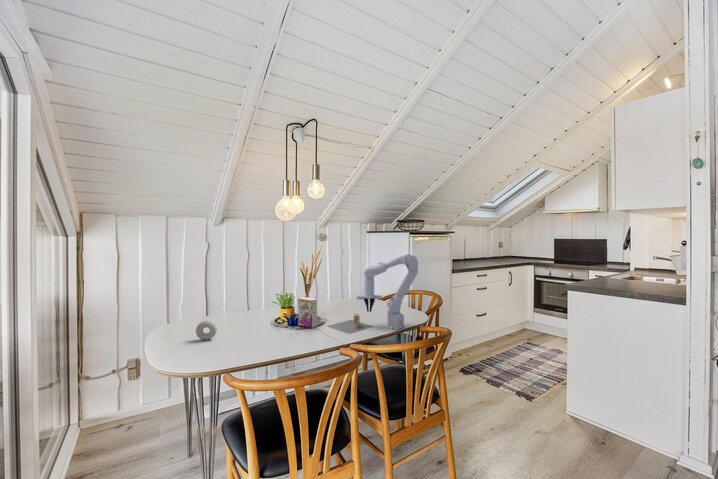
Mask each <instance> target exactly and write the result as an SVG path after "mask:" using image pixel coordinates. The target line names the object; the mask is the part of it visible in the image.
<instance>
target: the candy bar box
mask: <svg viewBox="0 0 718 479" xmlns="http://www.w3.org/2000/svg"><path fill="white" fill-rule="evenodd" d="M298 323H299V324H303V325H305V326H306V327H305V328H308V329H314V328H316V327H318V299H316V298H311V297H305V296H301V297H298V298H297V324H298Z"/></svg>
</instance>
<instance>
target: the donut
mask: <svg viewBox="0 0 718 479" xmlns="http://www.w3.org/2000/svg"><path fill="white" fill-rule="evenodd" d="M206 328H208V329H209V332H207V333H206V332H204V329H206ZM217 330H218V329H217V325H216V323H214V322H213V321H211V320H202V322H200V323H198V325H197V326H196V328H195V334H196V336H197V338H199V340H203V341H208V340H212V339H213V338H214V337H215V336H216V334H217V332H218V331H217Z"/></svg>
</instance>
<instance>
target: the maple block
mask: <svg viewBox="0 0 718 479" xmlns="http://www.w3.org/2000/svg"><path fill="white" fill-rule="evenodd" d="M352 320H353V325H354V328H359V325H360V314H359V313H353V318H352Z"/></svg>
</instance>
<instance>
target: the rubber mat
mask: <svg viewBox="0 0 718 479" xmlns="http://www.w3.org/2000/svg"><path fill="white" fill-rule="evenodd" d="M326 327H328V328H330V329H333V330H336V331H339V332H342V333H345V334H349V335H351V334H355V333H358V332H361V331H365V330H369V329H371V328H375V326H373V325H370V324H367V323H363V322H360V325H359V328H354V325H353V319H349V320H345V321H341V322H337V323H334V324H329V325H326Z"/></svg>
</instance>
